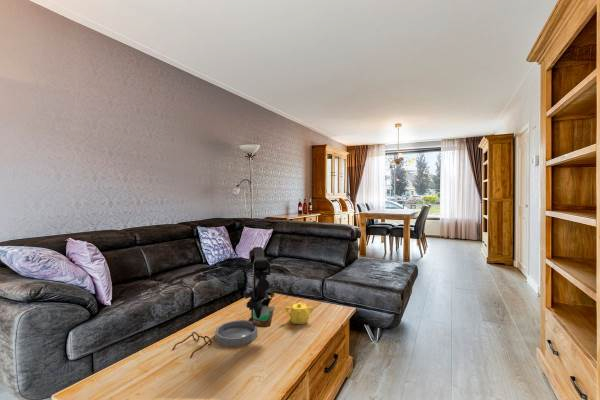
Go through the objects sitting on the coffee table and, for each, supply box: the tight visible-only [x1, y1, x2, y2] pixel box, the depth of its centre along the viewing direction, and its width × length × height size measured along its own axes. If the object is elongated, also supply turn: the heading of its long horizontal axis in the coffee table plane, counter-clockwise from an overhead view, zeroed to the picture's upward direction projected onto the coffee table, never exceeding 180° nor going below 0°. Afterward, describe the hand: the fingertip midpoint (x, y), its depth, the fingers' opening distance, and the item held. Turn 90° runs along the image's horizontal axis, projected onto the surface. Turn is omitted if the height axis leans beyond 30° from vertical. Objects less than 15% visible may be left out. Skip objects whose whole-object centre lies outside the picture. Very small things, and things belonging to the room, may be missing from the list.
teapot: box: [285, 301, 314, 325], centre depth 168 cm, size 14×13×10 cm
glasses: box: [171, 331, 212, 359], centre depth 139 cm, size 13×13×5 cm
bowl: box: [214, 319, 258, 347], centre depth 151 cm, size 21×21×4 cm
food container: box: [251, 305, 276, 328], centre depth 146 cm, size 12×6×10 cm, turn 70°
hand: (261, 315), depth 146 cm, fingers closed on food container, 6 cm apart
